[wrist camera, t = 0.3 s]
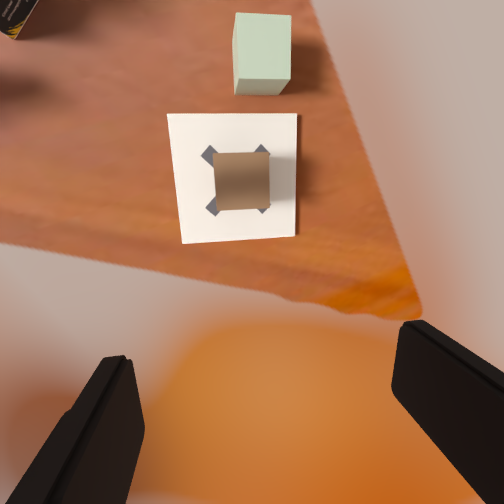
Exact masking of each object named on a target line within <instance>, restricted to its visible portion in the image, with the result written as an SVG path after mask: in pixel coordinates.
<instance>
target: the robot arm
mask: <svg viewBox="0 0 504 504" xmlns="http://www.w3.org/2000/svg"><path fill="white" fill-rule="evenodd" d="M391 387H392V392H393V394H394V396H395V397H396V398H397V400H398V401H399V402H400V403H401V404H402V406H403V407H404V408H405V409H406V410H407V411H408V413H409V414H410V415H411V416H412V417H413V418H414V420H415V421H416V422H417V423H418V424H419V425H420V427H421V428H422V429H423V430H424V432H425V433H426V434H427V435H428V436H429V437H430V439H431V440H432V441H433V442H434V443H435V444H436V446H437V447H438V448H439V449H440V450H441V452H442V453H443V454H444V455H445V456H446V457H447V459H448V460H449V461H450V462H451V463H452V465H453V466H454V467H455V468H456V469H457V470H458V472H459V473H460V474H461V475H462V476H463V477H464V479H465V480H466V481H467V482H468V483H469V484H470V486H471V487H472V488H473V489H474V490H475V491H476V493H477V494H478V495H479V496H480V497H481V499H482V500H483V501H484V502H485V503H486V504H504V373H503V372H502V371H500V370H499V369H497V368H496V367H494V366H493V365H491V364H490V363H488V362H487V361H485V360H483V359H482V358H480V357H479V356H477V355H476V354H474V353H473V352H471V351H470V350H468V349H467V348H465V347H464V346H462V345H461V344H459V343H458V342H456V341H455V340H453V339H452V338H450V337H449V336H447V335H445V334H444V333H442V332H441V331H439V330H437V329H436V328H435V327H433V326H432V325H430V324H429V323H427V322H425V321H423V320H414V321H406V322H404V324H403V326H402V327H401V328H400V330H399V336H398V343H397V350H396V357H395V363H394V370H393V377H392V384H391ZM144 431H145V425H144V419H143V414H142V409H141V403H140V398H139V393H138V388H137V384H136V378H135V373H134V368H133V363H132V360H131V359H129V360H127V359H126V357H125V356H124V355H120V356H113V357H105V358H103V359H102V361H101V362H100V364H99V365H98V367H97V368H96V370H95V371H94V373H93V375H92V376H91V378H90V379H89V381H88V383H87V384H86V386H85V387H84V389H83V390H82V392H81V394H80V395H79V397H78V398H77V400H76V402H75V403H74V405H73V406H72V408H71V409H70V410H68V411H67V412H65V413H64V415H63V416H62V417H61V419H60V420H59V422H58V423H57V425H56V426H55V428H54V429H53V431H52V432H51V434H50V435H49V437H48V439H47V440H46V442H45V443H44V445H43V446H42V448H41V449H40V451H39V452H38V454H37V456H36V457H35V459H34V460H33V462H32V463H31V465H30V467H29V468H28V469H27V471H26V472H25V474H24V475H23V477H22V479H21V480H20V482H19V483H18V485H17V486H16V488H15V489H14V491H13V492H12V494H11V495H10V497H9V499H8V500H7V502H6V503H5V504H126V500H127V496H128V493H129V489H130V486H131V482H132V478H133V475H134V471H135V467H136V464H137V460H138V456H139V453H140V449H141V445H142V442H143V438H144Z"/></svg>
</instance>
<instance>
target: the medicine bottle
mask: <svg viewBox="0 0 504 504" xmlns="http://www.w3.org/2000/svg"><path fill="white" fill-rule="evenodd" d="M38 1H39V0H0V32H2V33H3V34H5V35H6V36H7V37H9V38H11V39H16V37H17V35H18V34H19V32H20V31H21V29H22V27H23V26H24V24H25V22H26V21H27V19H28V17H29V16H30V14H31V12H32V11H33V9H34V7H35V6H36V4H37V2H38Z"/></svg>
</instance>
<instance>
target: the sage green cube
mask: <svg viewBox="0 0 504 504" xmlns="http://www.w3.org/2000/svg"><path fill="white" fill-rule="evenodd" d="M232 49H233V70H234V91H235V95H279V93H280V92H281V91H282V90H283V88H284V87H285V86H286V85H287V83H288V82H289V81H290V79H291V15H273V14H254V13H236V17H235V25H234V32H233V39H232Z"/></svg>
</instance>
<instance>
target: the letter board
mask: <svg viewBox="0 0 504 504" xmlns="http://www.w3.org/2000/svg"><path fill="white" fill-rule="evenodd" d="M167 118H168V126H169V135H170V143H171V152H172V160H173V168H174V177H175V185H176V194H177V202H178V210H179V219H180V227H181V236H182V244H188V243H203V242H217V241H232V240H246V239H261V238H275V237H290V236H295V201H296V141H297V114H167ZM241 152H269V181H270V208H263V209H244V210H225V211H217V206H216V193H215V180H214V167H213V153H241Z"/></svg>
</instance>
